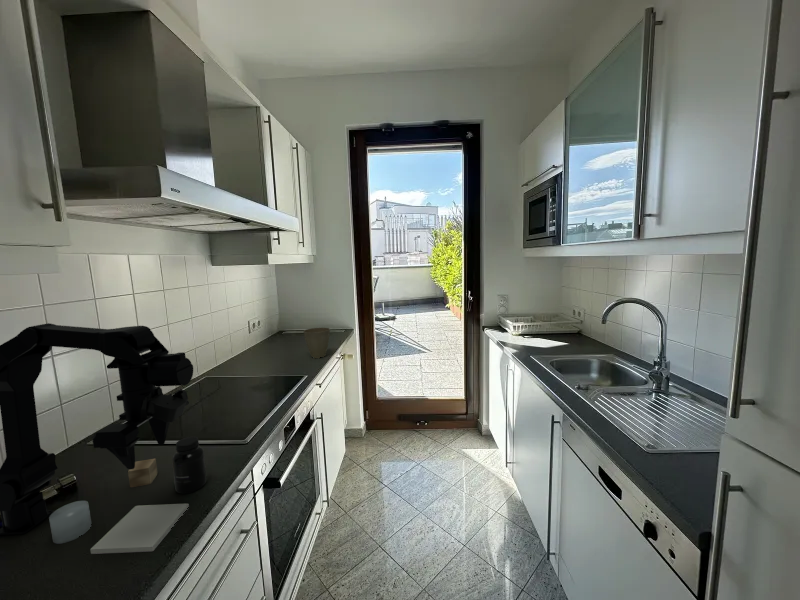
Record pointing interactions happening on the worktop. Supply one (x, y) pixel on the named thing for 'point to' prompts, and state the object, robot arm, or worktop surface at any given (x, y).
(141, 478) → the oak block
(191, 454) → the supplement bottle
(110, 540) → the plate
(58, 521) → the blue-grey rounded cylinder
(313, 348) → the plant pot
